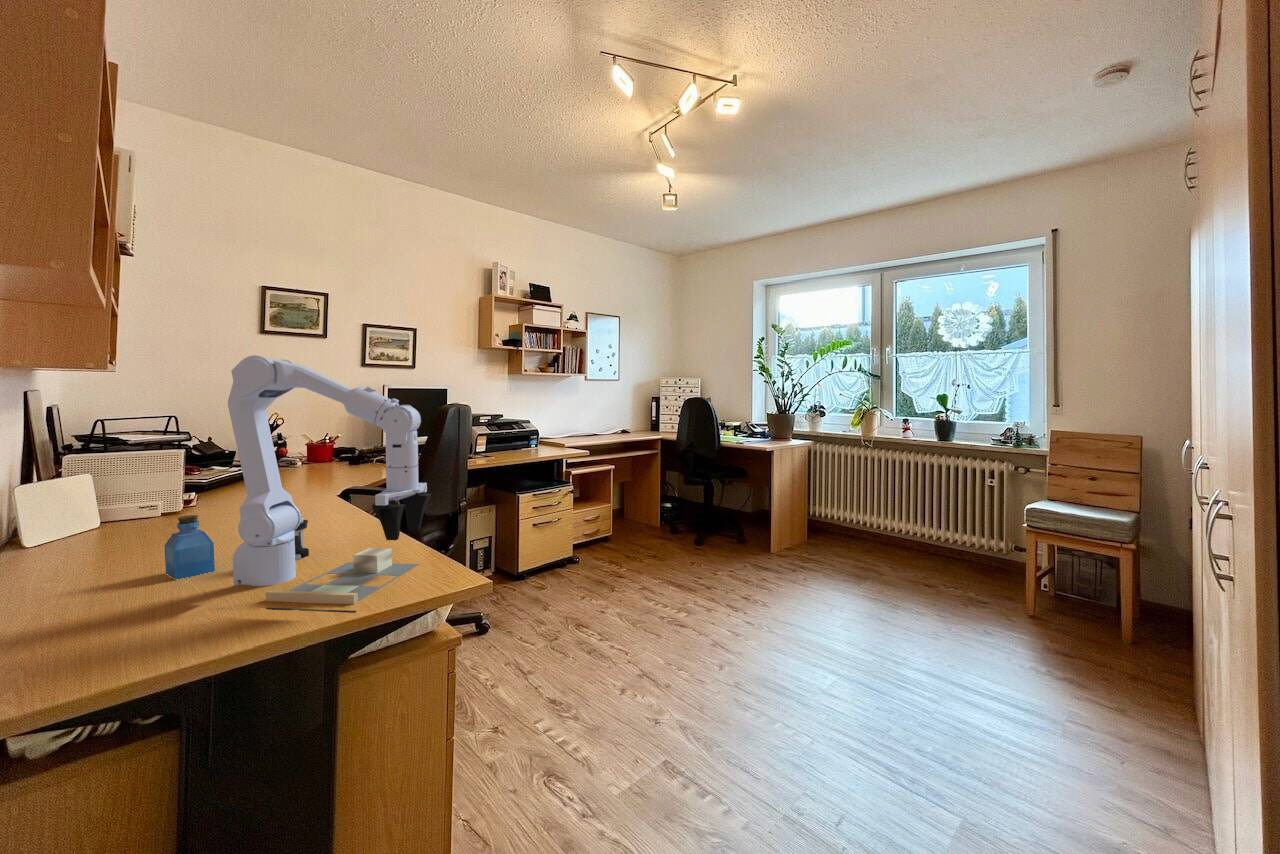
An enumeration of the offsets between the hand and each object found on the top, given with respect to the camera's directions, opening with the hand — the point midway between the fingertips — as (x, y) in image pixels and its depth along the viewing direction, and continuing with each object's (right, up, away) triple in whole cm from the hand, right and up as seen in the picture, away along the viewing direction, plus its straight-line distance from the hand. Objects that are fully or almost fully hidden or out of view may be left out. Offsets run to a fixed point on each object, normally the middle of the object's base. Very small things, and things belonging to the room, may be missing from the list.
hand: (403, 534), depth 98 cm
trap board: (-8, -10, -3) cm, 13 cm away
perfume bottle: (-47, -10, +6) cm, 49 cm away
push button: (-31, -9, +12) cm, 34 cm away
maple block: (-8, -8, +4) cm, 12 cm away
